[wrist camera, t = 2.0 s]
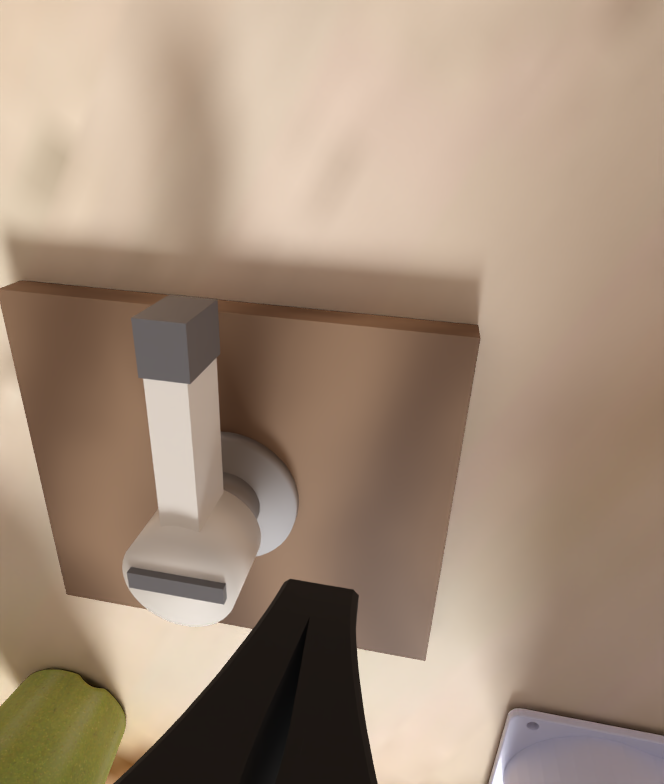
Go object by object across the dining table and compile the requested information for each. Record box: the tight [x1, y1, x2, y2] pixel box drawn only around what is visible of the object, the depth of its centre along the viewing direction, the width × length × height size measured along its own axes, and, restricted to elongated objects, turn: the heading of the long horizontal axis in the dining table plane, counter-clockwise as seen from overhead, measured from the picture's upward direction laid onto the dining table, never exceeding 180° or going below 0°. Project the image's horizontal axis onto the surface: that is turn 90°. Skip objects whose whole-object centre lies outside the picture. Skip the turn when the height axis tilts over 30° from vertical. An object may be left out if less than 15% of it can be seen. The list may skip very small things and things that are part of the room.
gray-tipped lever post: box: [122, 295, 261, 627], centre depth 16 cm, size 4×10×3 cm, turn 178°
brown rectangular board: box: [0, 281, 480, 661], centre depth 20 cm, size 16×14×3 cm
